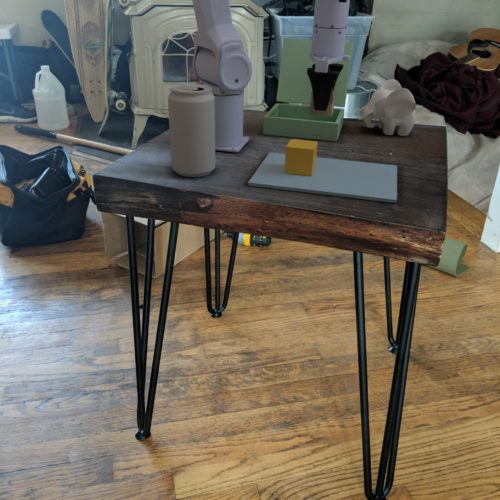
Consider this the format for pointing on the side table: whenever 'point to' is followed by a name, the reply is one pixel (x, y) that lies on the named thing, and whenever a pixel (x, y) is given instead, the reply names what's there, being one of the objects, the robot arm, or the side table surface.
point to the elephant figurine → (391, 109)
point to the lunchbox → (302, 123)
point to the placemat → (331, 178)
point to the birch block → (329, 109)
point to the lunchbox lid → (295, 73)
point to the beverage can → (192, 129)
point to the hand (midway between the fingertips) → (322, 107)
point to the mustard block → (300, 157)
